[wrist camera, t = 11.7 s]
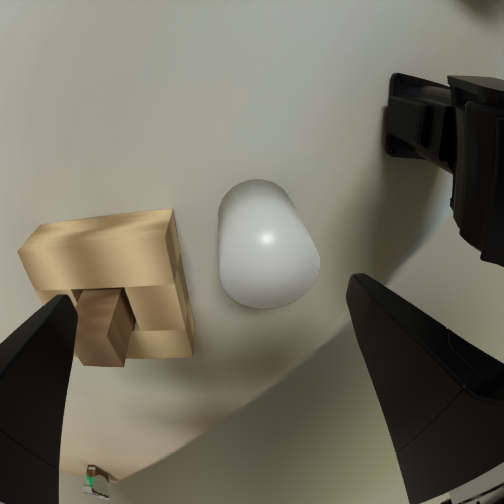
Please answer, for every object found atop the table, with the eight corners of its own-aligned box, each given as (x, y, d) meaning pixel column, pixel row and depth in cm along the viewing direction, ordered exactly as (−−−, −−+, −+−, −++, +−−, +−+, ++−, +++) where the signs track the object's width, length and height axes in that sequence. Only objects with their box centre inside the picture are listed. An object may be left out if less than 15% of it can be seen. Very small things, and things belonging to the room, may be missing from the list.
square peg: (131, 261, 23) (106, 335, 16) (140, 293, 25) (123, 367, 18) (95, 264, 23) (63, 335, 16) (107, 294, 24) (83, 365, 18)
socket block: (172, 208, 21) (164, 236, 17) (194, 324, 27) (193, 357, 24) (39, 225, 20) (17, 251, 17) (84, 326, 26) (73, 356, 23)
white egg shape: (294, 178, 21) (325, 224, 15) (290, 243, 24) (314, 304, 18) (215, 181, 20) (215, 231, 14) (221, 248, 23) (223, 312, 17)
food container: (76, 460, 58) (73, 488, 50) (93, 463, 58) (90, 492, 50) (95, 472, 65) (93, 497, 57) (111, 474, 65) (110, 500, 57)
